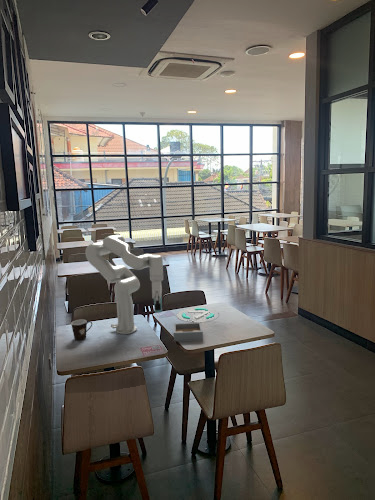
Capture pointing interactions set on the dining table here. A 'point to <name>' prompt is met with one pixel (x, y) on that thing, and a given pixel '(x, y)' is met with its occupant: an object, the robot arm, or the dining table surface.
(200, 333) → the bore box
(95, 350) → the dining table surface
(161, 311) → the peg
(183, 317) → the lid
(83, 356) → the dining table surface
